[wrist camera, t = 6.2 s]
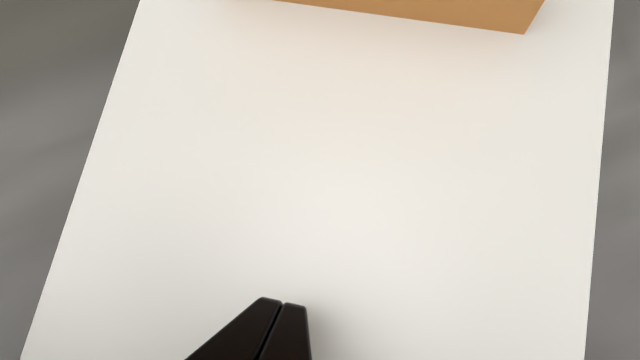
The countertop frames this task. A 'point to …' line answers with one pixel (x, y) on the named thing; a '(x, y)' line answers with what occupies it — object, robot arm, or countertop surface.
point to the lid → (340, 180)
